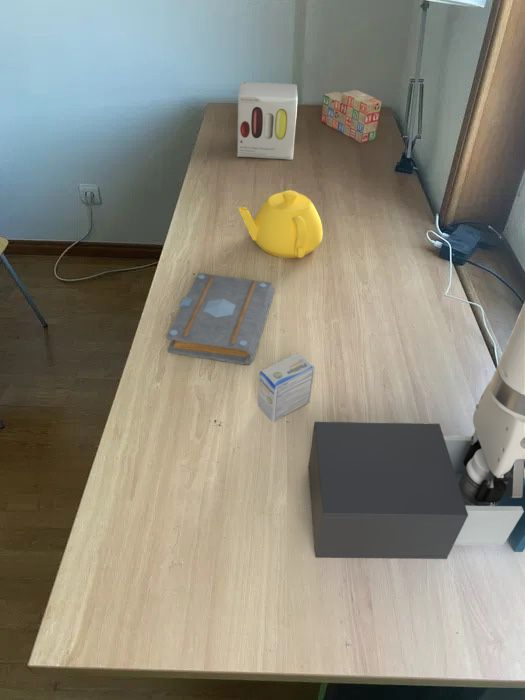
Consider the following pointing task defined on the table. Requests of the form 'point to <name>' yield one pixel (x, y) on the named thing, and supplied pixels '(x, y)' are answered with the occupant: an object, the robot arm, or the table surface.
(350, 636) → the table surface
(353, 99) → the stack of blocks
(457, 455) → the drawer
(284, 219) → the teapot
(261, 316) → the book
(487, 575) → the table surface
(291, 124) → the supplement box
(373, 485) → the drawer cabinet
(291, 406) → the medicine box
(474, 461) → the pill bottle
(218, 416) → the table surface
